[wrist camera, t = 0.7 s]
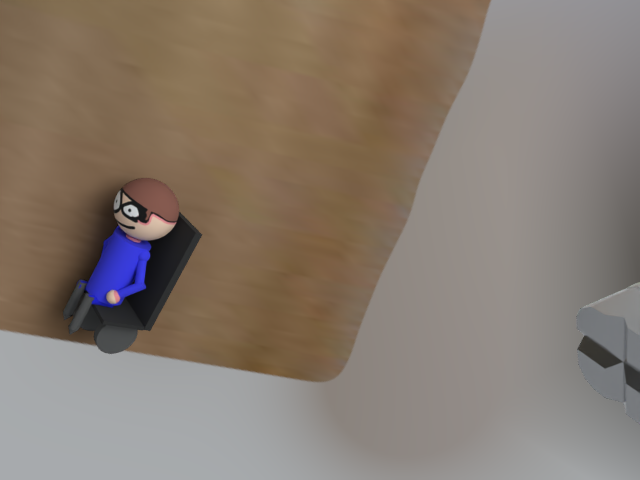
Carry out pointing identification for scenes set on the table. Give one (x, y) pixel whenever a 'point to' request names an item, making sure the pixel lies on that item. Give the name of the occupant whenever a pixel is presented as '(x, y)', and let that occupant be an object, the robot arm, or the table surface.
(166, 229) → the character figurine
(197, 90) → the table surface
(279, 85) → the table surface
